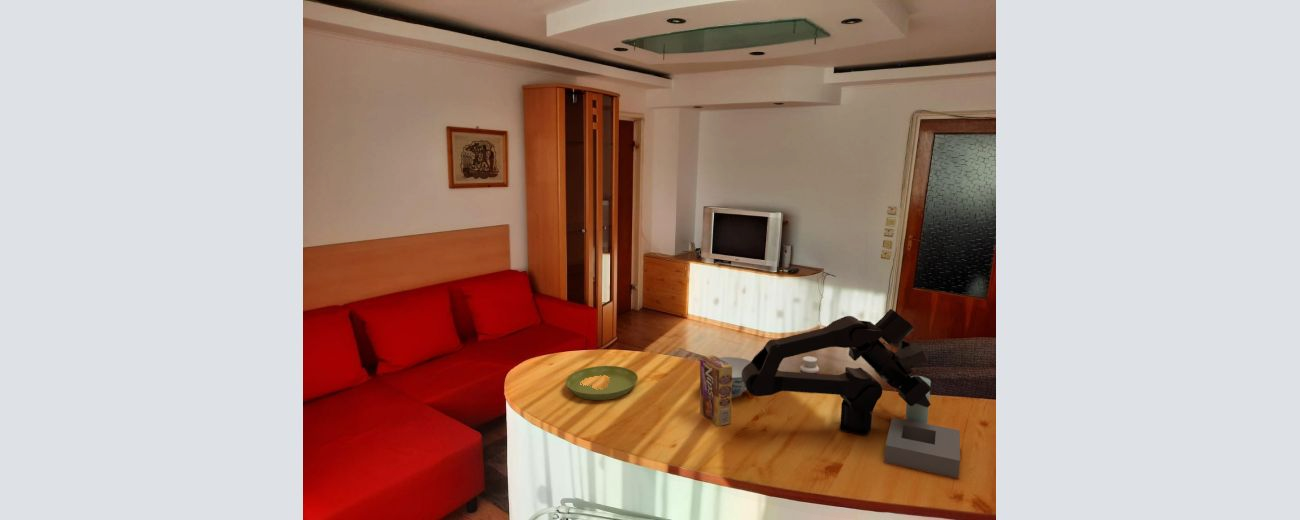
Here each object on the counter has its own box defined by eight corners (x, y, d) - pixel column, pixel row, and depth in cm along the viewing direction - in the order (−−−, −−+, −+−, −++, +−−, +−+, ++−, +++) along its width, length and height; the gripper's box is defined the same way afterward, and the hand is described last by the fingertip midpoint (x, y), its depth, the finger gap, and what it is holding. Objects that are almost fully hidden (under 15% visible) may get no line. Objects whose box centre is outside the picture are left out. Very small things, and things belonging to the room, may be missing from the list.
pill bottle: (819, 393, 155) (820, 362, 154) (799, 391, 157) (800, 361, 155) (817, 385, 161) (818, 355, 159) (798, 384, 162) (799, 354, 160)
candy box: (732, 423, 139) (733, 365, 136) (718, 427, 137) (718, 368, 135) (713, 409, 147) (713, 354, 144) (699, 413, 145) (699, 357, 142)
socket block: (884, 462, 121) (885, 445, 120) (891, 433, 133) (892, 417, 132) (958, 478, 115) (960, 460, 114) (958, 446, 127) (959, 430, 126)
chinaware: (746, 409, 147) (746, 381, 146) (694, 397, 154) (694, 371, 153) (764, 387, 160) (765, 362, 158) (716, 378, 167) (716, 353, 166)
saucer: (651, 383, 165) (651, 373, 164) (609, 411, 148) (609, 400, 147) (596, 370, 176) (595, 360, 175) (550, 394, 159) (550, 384, 158)
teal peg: (904, 428, 135) (907, 381, 133) (905, 420, 139) (909, 374, 137) (926, 433, 133) (930, 385, 130) (927, 424, 137) (931, 378, 135)
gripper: (925, 348, 122) (971, 395, 124) (889, 322, 141) (930, 363, 143) (886, 383, 124) (932, 428, 126) (856, 353, 142) (897, 393, 144)
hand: (923, 401), depth 135 cm, fingers closed on teal peg, 5 cm apart
